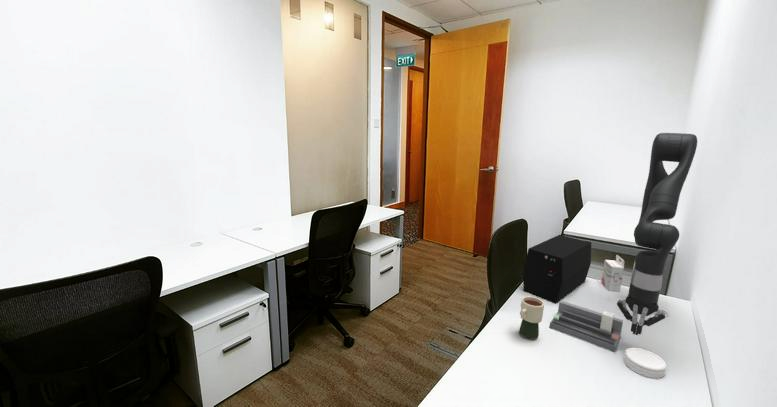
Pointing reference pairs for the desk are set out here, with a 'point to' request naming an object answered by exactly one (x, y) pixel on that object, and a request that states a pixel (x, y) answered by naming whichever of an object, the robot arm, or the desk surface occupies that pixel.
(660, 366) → the white round disc
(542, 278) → the uninterruptible power supply
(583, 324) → the grey slider panel
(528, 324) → the character mug
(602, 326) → the handle
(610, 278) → the ink cartridge box
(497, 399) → the desk surface
